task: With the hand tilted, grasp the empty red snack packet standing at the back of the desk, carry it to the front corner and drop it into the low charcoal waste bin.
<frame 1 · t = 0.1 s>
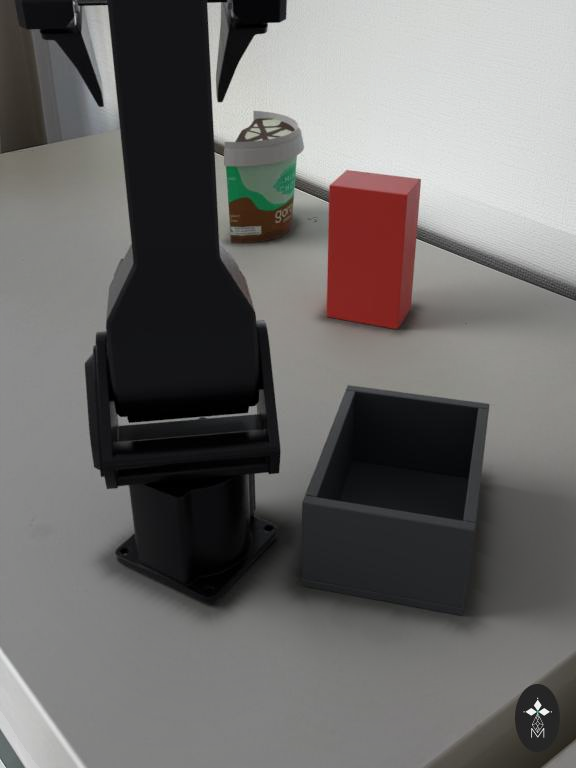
hand: (161, 102, 68), 15 cm above the table, tool pointing down, fingers open, 9 cm apart
food container: (272, 229, 88), on the table
packet: (368, 312, 71), on the table
bin: (396, 529, 48), on the table
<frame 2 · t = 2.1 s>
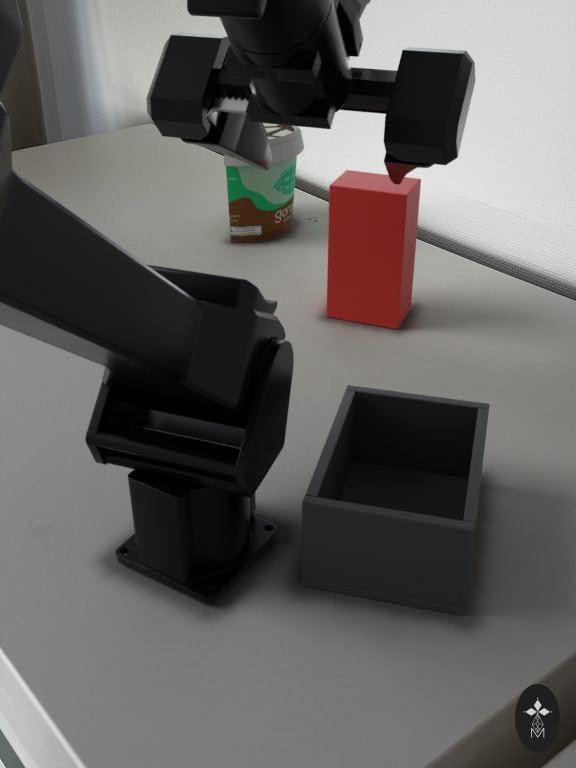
hand: (332, 170, 59), 14 cm above the table, tool tilted 40°, fingers open, 9 cm apart
nothing on the table moved.
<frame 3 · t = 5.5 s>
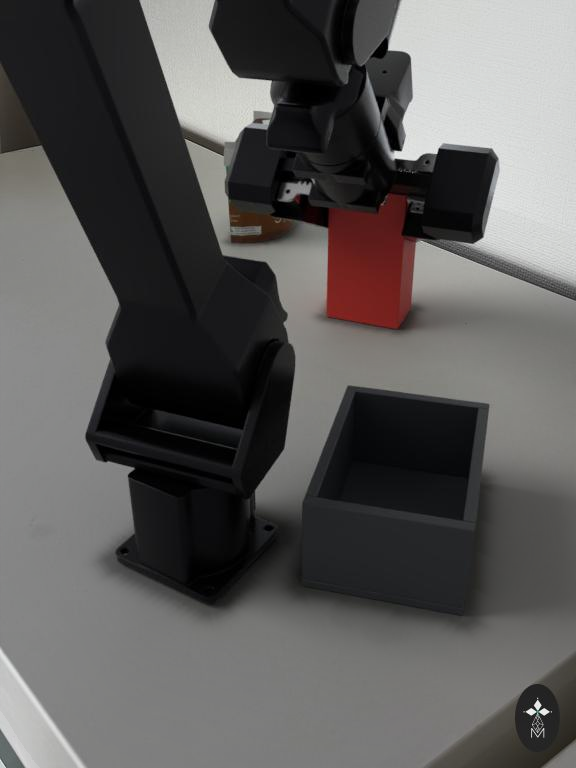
hand: (378, 230, 69), 7 cm above the table, tool tilted 45°, fingers closed on packet, 6 cm apart
packet: (368, 312, 71), on the table, touching gripper
everything else where it was.
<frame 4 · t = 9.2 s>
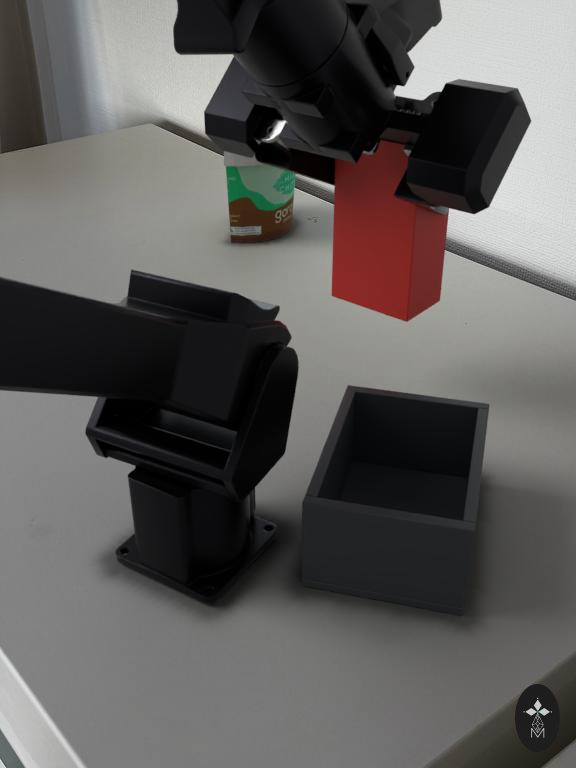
hand: (403, 197, 55), 14 cm above the table, tool tilted 45°, fingers closed on packet, 6 cm apart
packet: (385, 298, 58), point 7 cm above the table, touching gripper
everything else where it was.
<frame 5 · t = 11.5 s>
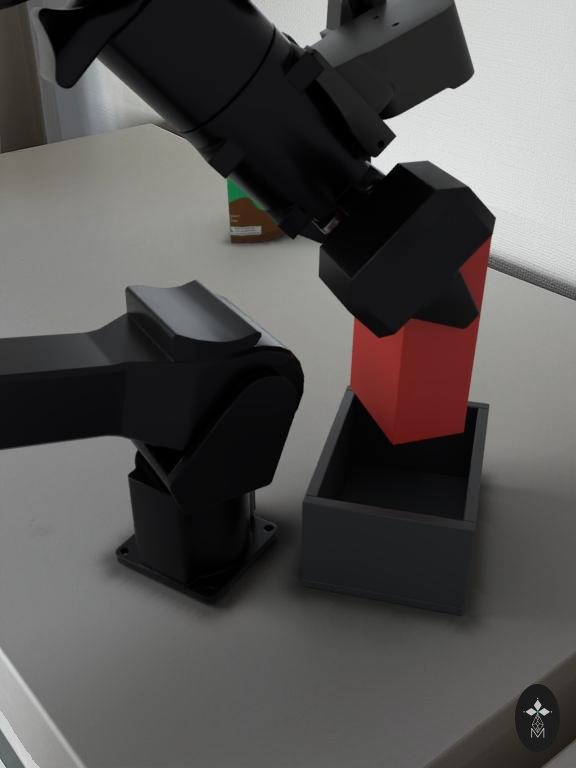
hand: (441, 293, 44), 13 cm above the table, tool tilted 45°, fingers closed on packet, 6 cm apart
packet: (404, 408, 47), point 7 cm above the table, touching gripper
everything else where it was.
when the fingers open (11 cm above the table, at t = 12.8 s): packet stays where it is, resting on bin.
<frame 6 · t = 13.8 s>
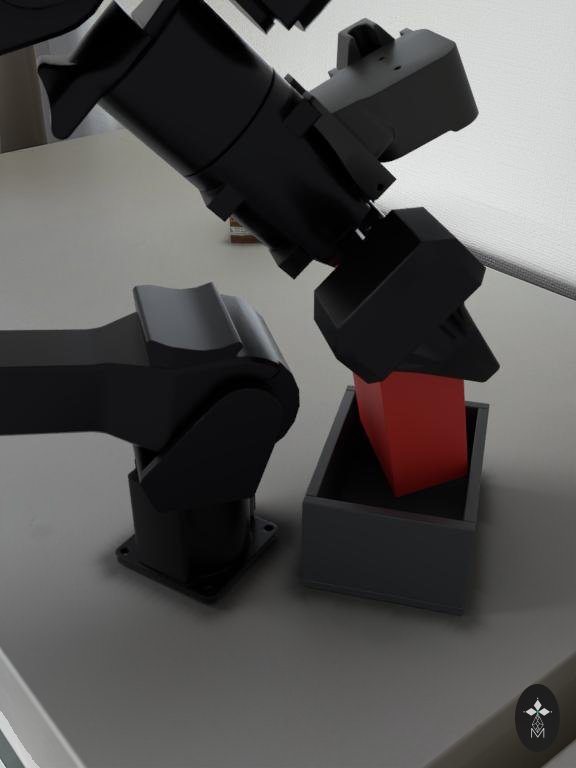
hand: (452, 328, 44), 12 cm above the table, tool tilted 45°, fingers open, 9 cm apart
packet: (411, 446, 47), point 5 cm above the table, tilted 16°, touching bin, gripper
everything else where it was.
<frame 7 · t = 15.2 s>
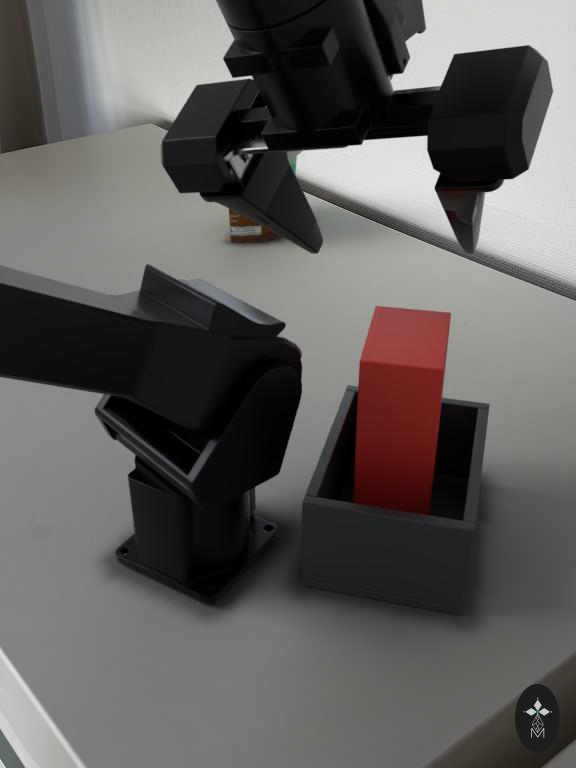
hand: (391, 247, 48), 14 cm above the table, tool tilted 30°, fingers open, 9 cm apart
packet: (394, 505, 49), point 1 cm above the table, touching bin
everything else where it was.
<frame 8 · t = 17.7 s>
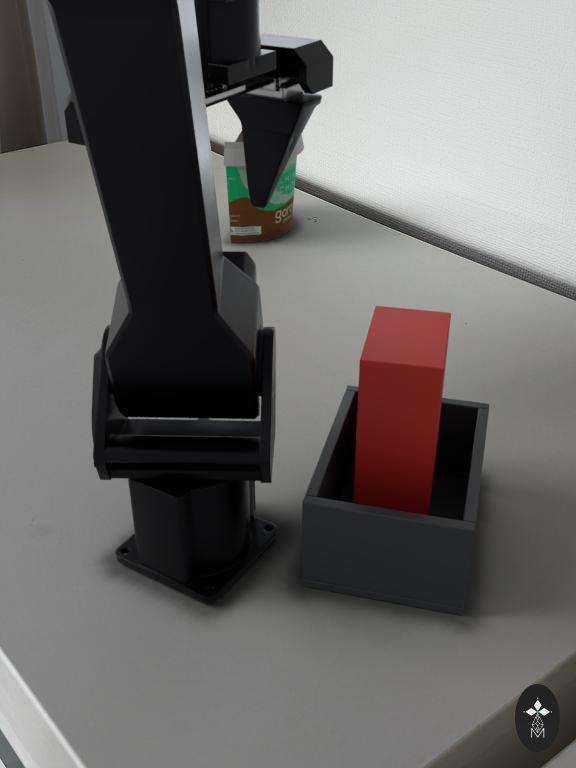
hand: (219, 228, 55), 12 cm above the table, tool pointing down, fingers open, 9 cm apart
nothing on the table moved.
at the end: packet inside the target area in the bin (1.4 cm from its centre), point 0.5 cm above the bin's base; the gripper is holding nothing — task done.
